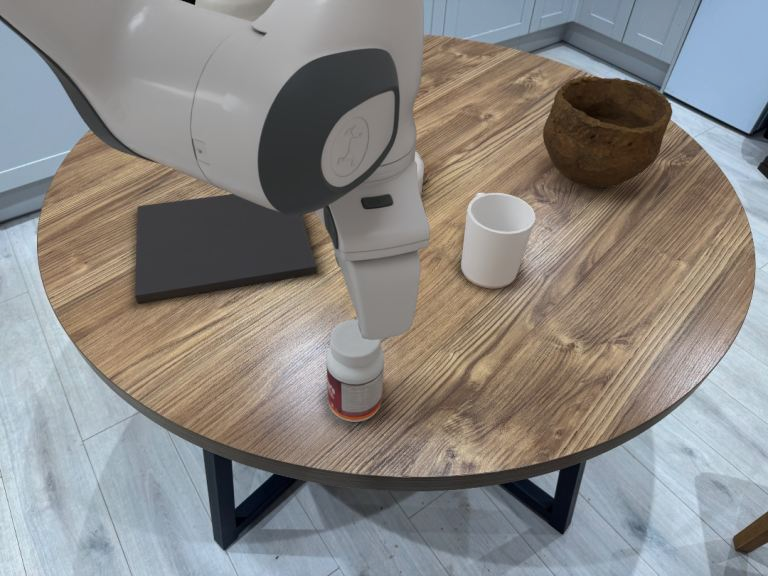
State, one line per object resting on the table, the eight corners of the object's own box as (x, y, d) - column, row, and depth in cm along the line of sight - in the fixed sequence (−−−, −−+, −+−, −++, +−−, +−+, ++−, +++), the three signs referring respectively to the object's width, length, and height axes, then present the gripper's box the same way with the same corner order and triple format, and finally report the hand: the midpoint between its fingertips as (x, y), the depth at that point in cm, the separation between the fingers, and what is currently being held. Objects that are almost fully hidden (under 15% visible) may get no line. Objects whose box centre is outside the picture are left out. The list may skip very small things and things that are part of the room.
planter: (302, 117, 112) (293, -5, 96) (219, 130, 107) (196, 4, 92) (280, 83, 123) (269, -32, 107) (204, 93, 118) (181, -26, 102)
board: (137, 303, 75) (134, 295, 74) (139, 213, 89) (137, 205, 87) (317, 274, 80) (316, 266, 79) (293, 193, 94) (292, 185, 93)
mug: (531, 283, 81) (548, 226, 73) (475, 297, 78) (487, 239, 71) (494, 236, 88) (506, 180, 81) (441, 248, 85) (449, 191, 78)
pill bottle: (326, 382, 67) (322, 317, 59) (377, 376, 68) (380, 311, 60) (331, 427, 63) (327, 364, 55) (385, 420, 64) (390, 357, 56)
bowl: (556, 213, 93) (582, 130, 82) (519, 152, 106) (538, 74, 95) (662, 206, 95) (701, 125, 85) (614, 147, 108) (642, 71, 98)
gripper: (292, 109, 50) (303, 231, 60) (346, 261, 36) (349, 388, 46) (362, 102, 51) (361, 222, 61) (439, 246, 38) (422, 372, 47)
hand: (356, 295), depth 53 cm, fingers open, 8 cm apart
